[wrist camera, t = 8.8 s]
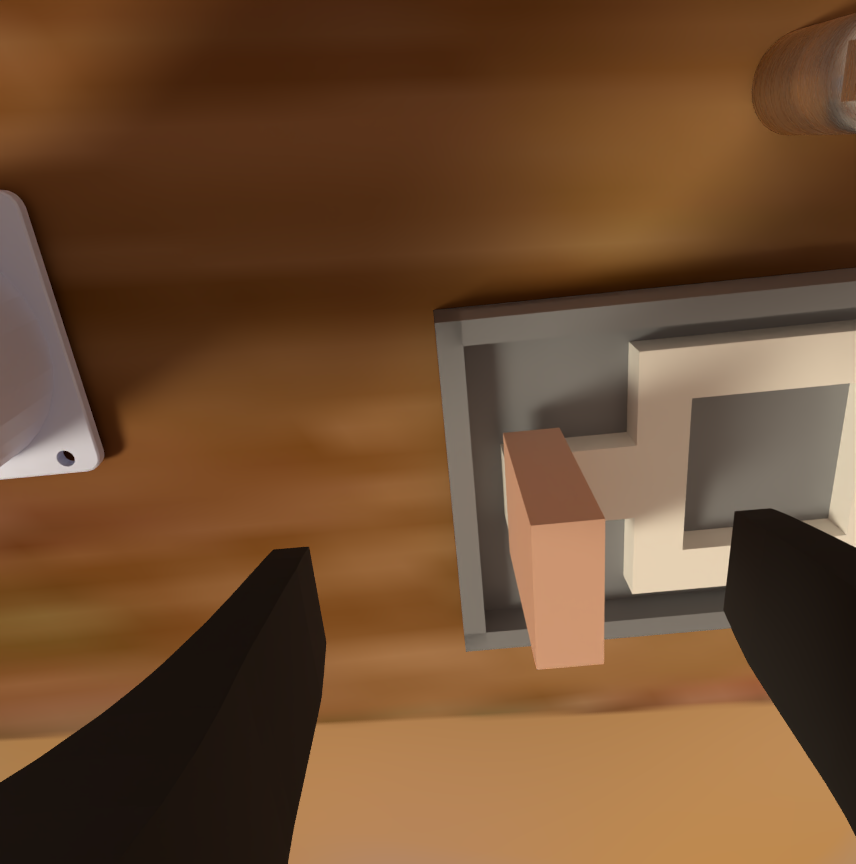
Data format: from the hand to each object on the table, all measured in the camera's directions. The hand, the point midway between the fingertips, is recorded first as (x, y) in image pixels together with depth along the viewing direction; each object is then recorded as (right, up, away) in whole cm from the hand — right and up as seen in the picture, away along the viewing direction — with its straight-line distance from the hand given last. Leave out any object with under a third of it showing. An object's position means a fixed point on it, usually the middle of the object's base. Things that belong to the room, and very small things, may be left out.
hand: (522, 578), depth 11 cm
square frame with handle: (+7, +2, +9) cm, 11 cm away
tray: (+7, +2, +10) cm, 12 cm away
